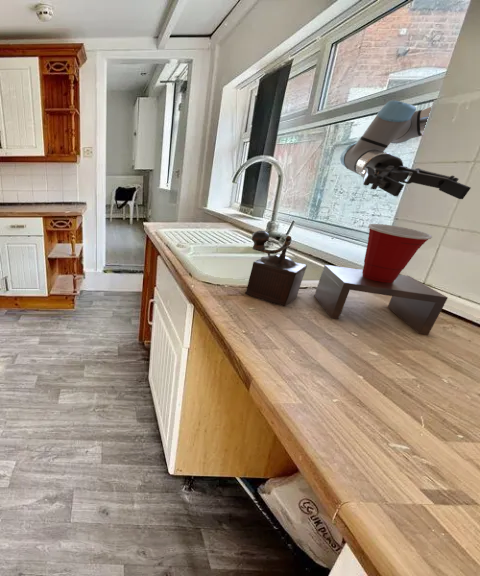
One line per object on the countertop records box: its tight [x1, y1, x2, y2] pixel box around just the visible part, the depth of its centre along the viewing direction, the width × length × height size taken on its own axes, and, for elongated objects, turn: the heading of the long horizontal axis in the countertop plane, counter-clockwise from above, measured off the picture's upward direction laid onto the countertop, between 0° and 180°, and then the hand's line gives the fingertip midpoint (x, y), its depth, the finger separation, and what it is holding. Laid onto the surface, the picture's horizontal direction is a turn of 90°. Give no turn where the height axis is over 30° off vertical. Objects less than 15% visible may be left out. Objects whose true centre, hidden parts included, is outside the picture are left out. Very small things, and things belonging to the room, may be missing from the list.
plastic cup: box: [362, 223, 433, 283], centre depth 70 cm, size 11×11×12 cm
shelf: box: [314, 264, 449, 336], centre depth 74 cm, size 18×15×9 cm
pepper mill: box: [244, 230, 308, 307], centre depth 78 cm, size 16×11×18 cm
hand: (431, 192), depth 71 cm, fingers open, 13 cm apart
